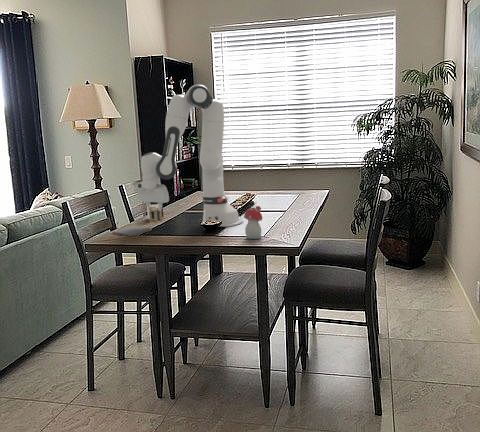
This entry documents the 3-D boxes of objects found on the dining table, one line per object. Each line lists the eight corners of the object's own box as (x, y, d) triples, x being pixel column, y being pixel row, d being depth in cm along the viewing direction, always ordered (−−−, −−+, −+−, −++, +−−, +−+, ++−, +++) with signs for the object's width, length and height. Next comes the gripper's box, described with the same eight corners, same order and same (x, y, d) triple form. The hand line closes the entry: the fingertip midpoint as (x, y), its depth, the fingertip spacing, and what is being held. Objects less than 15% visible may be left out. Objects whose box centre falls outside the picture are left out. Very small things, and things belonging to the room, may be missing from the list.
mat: (151, 230, 283) (151, 228, 283) (130, 236, 272) (130, 234, 272) (133, 228, 292) (133, 226, 292) (112, 233, 281) (112, 231, 281)
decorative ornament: (266, 238, 251) (264, 205, 248) (254, 240, 247) (252, 207, 244) (253, 235, 258) (251, 203, 256) (242, 237, 255) (240, 205, 252)
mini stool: (163, 221, 290) (162, 206, 288) (156, 223, 286) (154, 208, 284) (156, 220, 293) (154, 205, 292) (148, 222, 289) (147, 207, 288)
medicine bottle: (151, 220, 309) (149, 199, 307) (147, 218, 316) (145, 198, 313) (163, 218, 313) (162, 197, 310) (159, 217, 319) (157, 196, 317)
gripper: (170, 183, 282) (173, 210, 284) (143, 182, 295) (146, 208, 297) (161, 185, 277) (164, 212, 280) (134, 184, 290) (137, 210, 292)
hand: (155, 210), depth 288 cm, fingers closed on mini stool, 5 cm apart
